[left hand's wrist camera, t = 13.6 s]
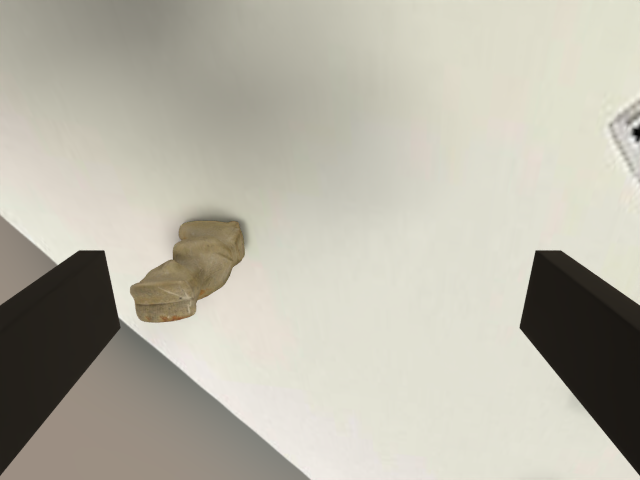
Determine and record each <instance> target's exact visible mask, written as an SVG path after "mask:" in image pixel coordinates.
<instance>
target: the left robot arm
mask: <svg viewBox="0 0 640 480" xmlns="http://www.w3.org/2000/svg"><path fill="white" fill-rule="evenodd" d="M119 329H120V323H119V318H118V313H117V309H116V304H115V299H114V294H113V290H112V285H111V280H110V275H109V270H108V266H107V261H106V256H105V251H78V252H76V253H75V254H73V255H72V256H71V257H69V258H68V259H66V260H65V261H63V262H62V263H60V264H59V265H58V266H56V267H55V268H53V269H52V270H50V271H49V272H48V273H46V274H45V275H43V276H42V277H40V278H39V279H38V280H36V281H35V282H33V283H32V284H30V285H29V286H27V287H26V288H25V289H23V290H22V291H20V292H19V293H17V294H16V295H15V296H13V297H12V298H10V299H9V300H7V301H6V302H5V303H3V304H2V305H0V475H1V474H2V473H3V472H4V470H5V469H6V468H7V467H8V465H9V464H10V463H11V462H12V461H13V459H14V458H15V457H16V456H17V454H18V453H19V452H20V451H21V449H22V448H23V447H24V446H25V445H26V443H27V442H28V441H29V440H30V438H31V437H32V436H33V435H34V433H35V432H36V431H37V430H38V429H39V427H40V426H41V425H42V424H43V422H44V421H45V420H46V419H47V417H48V416H49V415H50V414H51V413H52V411H53V410H54V409H55V408H56V406H57V405H58V404H59V403H60V402H61V400H62V399H63V398H64V397H65V395H66V394H67V393H68V392H69V390H70V389H71V388H72V387H73V386H74V384H75V383H76V382H77V381H78V379H79V378H80V377H81V376H82V375H83V373H84V372H85V371H86V370H87V368H88V367H89V366H90V365H91V363H92V362H93V361H94V360H95V359H96V357H97V356H98V355H99V354H100V352H101V351H102V350H103V349H104V347H105V346H106V345H107V344H108V343H109V341H110V340H111V339H112V338H113V336H114V335H115V334H116V333H117V332H118V330H119ZM520 329H521V330H522V332H523V333H524V334H525V335H526V336H527V338H528V339H529V340H530V341H531V343H532V344H533V345H534V346H535V348H536V349H537V350H538V351H539V352H540V354H541V355H542V356H543V357H544V359H545V360H546V361H547V362H548V363H549V365H550V366H551V367H552V368H553V370H554V371H555V372H556V373H557V375H558V376H559V377H560V378H561V379H562V381H563V382H564V383H565V384H566V386H567V387H568V388H569V389H570V391H571V392H572V393H573V394H574V395H575V397H576V398H577V399H578V400H579V402H580V403H581V404H582V405H583V406H584V408H585V409H586V410H587V411H588V413H589V414H590V415H591V416H592V418H593V419H594V420H595V421H596V422H597V424H598V425H599V426H600V427H601V429H602V430H603V431H604V432H605V434H606V435H607V436H608V437H609V438H610V440H611V441H612V442H613V443H614V445H615V446H616V447H617V448H618V449H619V451H620V452H621V453H622V454H623V456H624V457H625V458H626V459H627V461H628V462H629V463H630V464H631V465H632V467H633V468H634V469H635V470H636V472H637V473H638V474H639V475H640V305H638V304H637V303H635V302H634V301H633V300H631V299H630V298H628V297H627V296H625V295H624V294H623V293H621V292H620V291H618V290H617V289H615V288H614V287H613V286H611V285H610V284H608V283H607V282H605V281H604V280H602V279H601V278H600V277H598V276H597V275H595V274H594V273H592V272H591V271H590V270H588V269H587V268H585V267H584V266H582V265H581V264H580V263H578V262H577V261H575V260H574V259H572V258H571V257H569V256H568V255H567V254H565V253H564V252H562V251H535V256H534V261H533V266H532V270H531V275H530V280H529V285H528V290H527V294H526V299H525V304H524V309H523V313H522V318H521V323H520Z"/></svg>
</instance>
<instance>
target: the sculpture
mask: <svg viewBox="0 0 640 480" xmlns="http://www.w3.org/2000/svg"><path fill="white" fill-rule="evenodd" d="M179 237H180V239H181V240H182V241H180V242H178V243H176V244H175V246H174V248H173V260H168V261H167V262H165V263H163V264H162V265H160V266H158V267H156V268H155V269H153V270H151V271H150V272H149V273H148V274H147V275H146V277H145V278H144V279H143V280H141V281H140V282H139V283H136V284H134V285H132V286H131V287H130V294H131V295H132V297H133V298H134V300H135V308H136V313H137V316H138V318H139V319H140V320H142V321H144V322H169V321H176V320H181V319H184V318H187V317H190V316H192V315H194V314H195V312H196V302H197V300H199V299H202V298H204V297H207V296H208V295H210V294H211V293H213V292H215V291H216V290H218V289H219V288H221V287H222V286H223V285H224V284H225V283H226V281H227V280H228V278H229V276H230V273H231V270H232V268H233V267H234V266H235V265H237V264H238V263H239V262H240V261H241V260H242V258H243V257H244V255H245V249H244V239H243V235H242V232H241V230H240V226H239V223H238V222H236V221H231V222H228V223H225V222H219V221H192V222H187V223H184V224H182V225H181V226H180V229H179Z"/></svg>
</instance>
